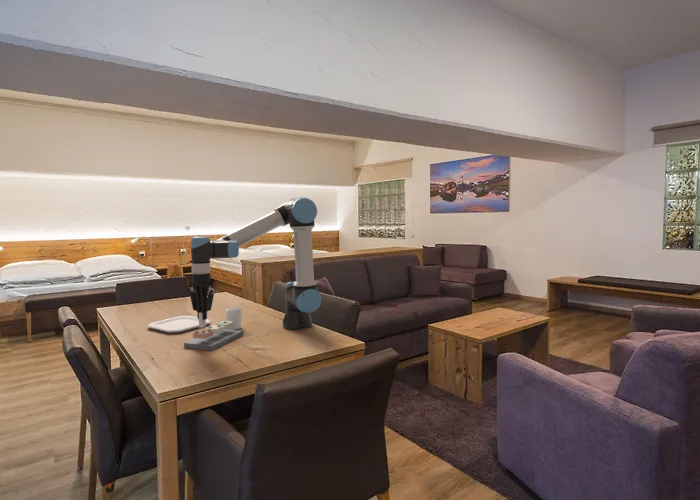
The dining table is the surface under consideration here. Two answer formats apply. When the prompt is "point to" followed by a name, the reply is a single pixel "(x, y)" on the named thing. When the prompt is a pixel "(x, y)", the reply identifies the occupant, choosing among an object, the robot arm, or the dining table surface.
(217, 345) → the board
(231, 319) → the white cup
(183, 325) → the plate
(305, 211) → the robot arm
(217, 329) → the tile two
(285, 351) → the dining table surface
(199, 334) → the tile three
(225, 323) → the tile one
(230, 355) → the dining table surface
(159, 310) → the dining table surface
